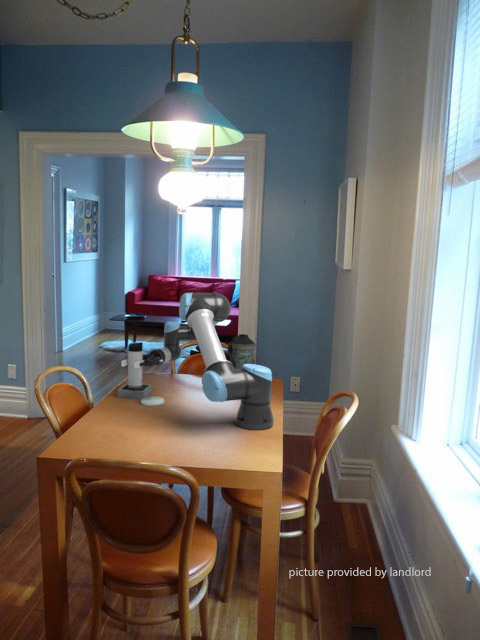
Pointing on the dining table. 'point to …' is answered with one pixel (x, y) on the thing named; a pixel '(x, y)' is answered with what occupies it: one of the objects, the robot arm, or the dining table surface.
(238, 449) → the dining table surface
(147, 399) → the disc
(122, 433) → the dining table surface
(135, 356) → the travel mug
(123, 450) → the dining table surface
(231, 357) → the beer stein
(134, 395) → the square frame
